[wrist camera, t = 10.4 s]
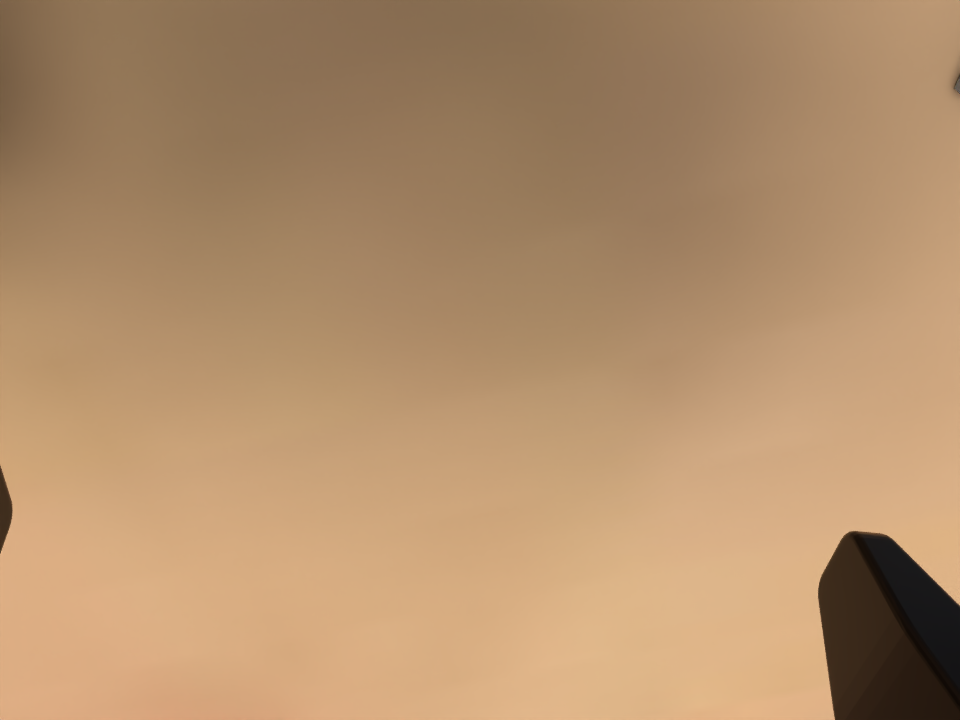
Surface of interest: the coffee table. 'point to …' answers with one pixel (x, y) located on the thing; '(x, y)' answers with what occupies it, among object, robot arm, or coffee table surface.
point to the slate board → (958, 86)
